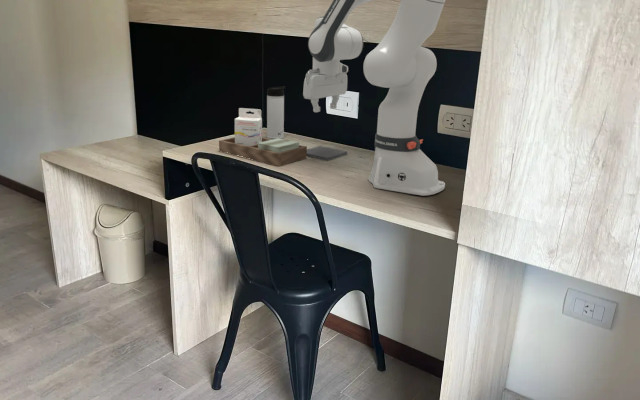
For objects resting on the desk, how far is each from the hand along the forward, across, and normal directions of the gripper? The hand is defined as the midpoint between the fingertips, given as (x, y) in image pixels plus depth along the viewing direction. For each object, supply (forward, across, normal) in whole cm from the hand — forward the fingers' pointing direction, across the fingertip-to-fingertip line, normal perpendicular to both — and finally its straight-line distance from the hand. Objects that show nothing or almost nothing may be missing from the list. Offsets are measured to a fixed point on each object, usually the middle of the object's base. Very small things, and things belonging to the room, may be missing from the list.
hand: (325, 110), depth 187 cm
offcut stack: (+15, -16, +7) cm, 23 cm away
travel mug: (+15, +6, +27) cm, 32 cm away
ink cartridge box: (+15, -15, +21) cm, 30 cm away
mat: (+15, 0, 0) cm, 15 cm away
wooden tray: (+15, -15, +15) cm, 26 cm away
